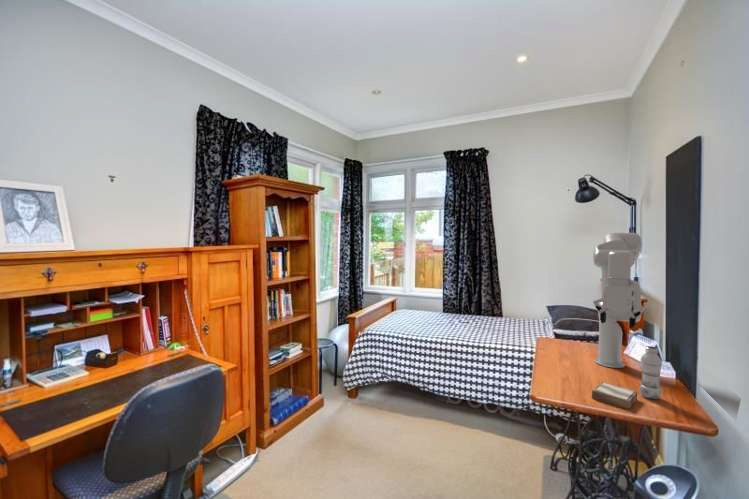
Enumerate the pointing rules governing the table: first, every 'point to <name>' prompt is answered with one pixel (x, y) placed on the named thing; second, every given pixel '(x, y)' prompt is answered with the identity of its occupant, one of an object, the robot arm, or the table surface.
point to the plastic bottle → (651, 373)
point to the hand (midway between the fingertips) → (617, 324)
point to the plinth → (614, 395)
